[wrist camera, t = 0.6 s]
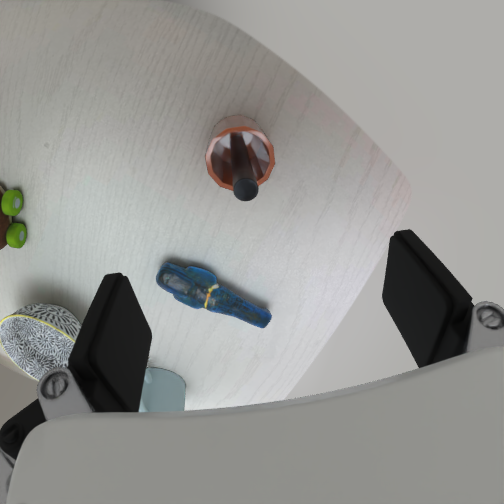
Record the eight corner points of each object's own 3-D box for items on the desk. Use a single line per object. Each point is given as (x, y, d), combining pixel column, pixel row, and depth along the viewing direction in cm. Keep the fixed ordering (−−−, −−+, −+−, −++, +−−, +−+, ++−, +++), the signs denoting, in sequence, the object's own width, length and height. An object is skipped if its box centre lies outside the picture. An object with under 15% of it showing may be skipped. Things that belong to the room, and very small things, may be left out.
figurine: (273, 298, 41) (168, 246, 36) (282, 310, 37) (167, 255, 33) (255, 327, 41) (151, 280, 37) (262, 341, 38) (149, 292, 33)
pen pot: (206, 119, 28) (200, 133, 22) (260, 111, 28) (270, 122, 22) (214, 170, 30) (212, 196, 25) (266, 162, 30) (277, 186, 25)
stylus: (228, 136, 28) (231, 180, 17) (243, 133, 28) (257, 176, 17) (230, 150, 29) (235, 203, 18) (245, 148, 29) (259, 199, 18)
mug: (190, 396, 51) (188, 445, 43) (142, 396, 51) (135, 443, 42) (172, 348, 44) (166, 405, 35) (115, 350, 44) (102, 403, 35)
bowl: (127, 324, 41) (116, 366, 34) (85, 367, 46) (75, 403, 40) (34, 259, 34) (8, 294, 27) (9, 317, 39) (-9, 350, 33)
